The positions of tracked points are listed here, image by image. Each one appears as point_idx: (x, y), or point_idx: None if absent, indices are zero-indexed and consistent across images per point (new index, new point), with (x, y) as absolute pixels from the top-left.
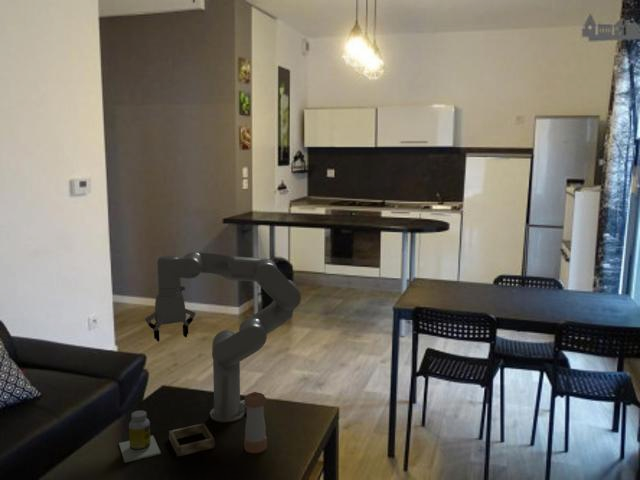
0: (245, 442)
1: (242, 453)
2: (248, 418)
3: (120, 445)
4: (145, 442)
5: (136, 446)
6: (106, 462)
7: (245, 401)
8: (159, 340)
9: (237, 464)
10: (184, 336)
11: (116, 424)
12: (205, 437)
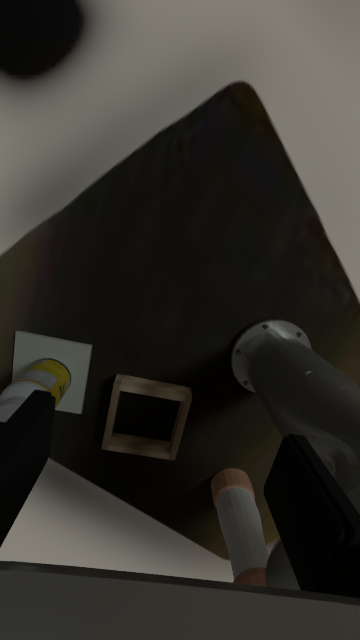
0: (213, 495)
1: (201, 485)
2: (228, 550)
3: (16, 343)
4: None
5: None
6: None
7: None
8: (45, 463)
9: (176, 504)
10: (268, 477)
11: (34, 230)
12: (177, 413)
